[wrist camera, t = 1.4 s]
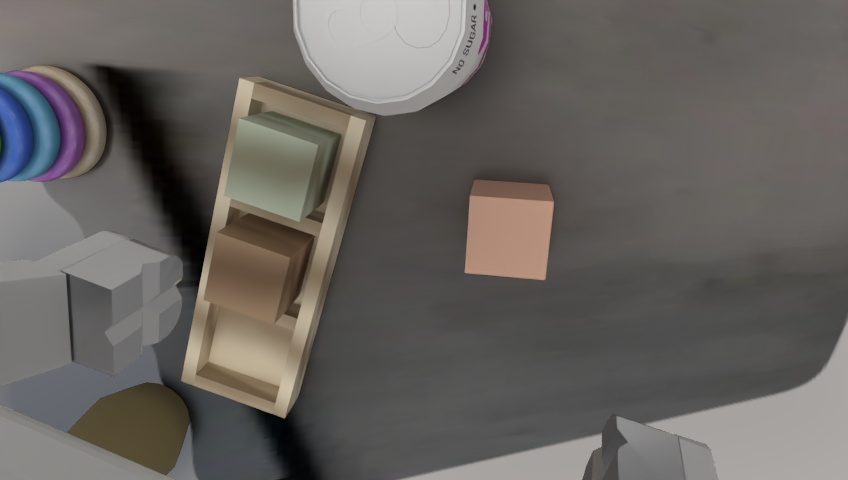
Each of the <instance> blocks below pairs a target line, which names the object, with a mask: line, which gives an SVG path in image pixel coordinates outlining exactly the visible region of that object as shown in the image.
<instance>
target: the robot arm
mask: <svg viewBox="0 0 848 480" xmlns="http://www.w3.org/2000/svg"><path fill="white" fill-rule="evenodd" d="M182 278H183V262H182V261H181V260H180V259H179V257H178V256H176V255H173V254H171V253H168V252H166V251H163V250H160V249H158V248H155V247H153V246H150V245H147V244H145V243H142V242H140V241H137V240H135V239H131V238H129V237H126V236H124V235H121V234H118V233H115V232H112V231H101V232H99V233H96V234H94V235H92V236H90V237H88V238H85V239H83V240H81V241H79V242H77V243H75V244H73V245H70V246H68V247H65V248H63V249H61V250H59V251H57V252H54V253H52V254H50V255H48V256H46V257H43V258H41V259H39V260H37V261H35V262H34V261H31V260H28V259H23V260H13V261H3V262H0V387H2V386H5V385H8V384H11V383H14V382H17V381H20V380H23V379H26V378H29V377H32V376H35V375H38V374H42V373H44V372H48V371H51V370H54V369H57V368H59V367H63V366H66V365H69V364H71V363H72V361H73V362H75V363H78V364H81V365H84V366H86V367H89V368H92V369H94V370H97V371H100V372H102V373H105V374H108V375H111V376H113V377H114V376H115V375H117V374H118V373H119V372H121V371H122V370H123V369H125V368H126V367H127V366H129V365H130V364H131V363H133V362H134V361H135V360H137V359H138V358H139V357H141V354H142V347H143V346H146V345H151V344H155V343H159V342H160V341H161V340H162V339H164V338H165V337H166V336H167V335H169V334H170V332H171V331H172V329H173V328H174V326H175V325H176V323H177V322H178V319H179V316H180V312H181V309H182V297H181V295H180V293H179V291H178V289H177V287H176V284H177V283H178V282H179V281H180V280H181V279H182ZM0 480H174V479H172V478H170V477H167V476H165V475H163V474H161V473H158V472H156V471H154V470H151V469H149V468H147V467H144V466H142V465H140V464H137V463H135V462H133V461H130V460H128V459H126V458H123V457H121V456H119V455H117V454H114V453H112V452H110V451H107V450H105V449H103V448H100V447H98V446H96V445H93V444H91V443H89V442H86V441H84V440H82V439H79V438H77V437H75V436H73V435H70V434H68V433H66V432H63V431H61V430H58V429H56V428H54V427H52V426H49V425H47V424H45V423H42V422H40V421H38V420H35V419H33V418H31V417H28V416H26V415H24V414H22V413H19V412H17V411H14V410H12V409H10V408H8V407H5V406H3V405H1V404H0ZM582 480H718V477H717V474H716V469H715V465H714V461H713V458H712V453H711V450H710V448H709V447H708V446H707V445H706V444H703V443H700V442H697V441H694V440H691V439H688V438H685V437H682V436H679V435H676V434H674V435H673V434H670V433H667V432H665V431H662V430H659V429H656V428H653V427H650V426H647V425H645V424H642V423H639V422H636V421H633V420H630V419H627V418H624V417H622V416H619V415H616V414H612V415H611V416H610V418H609V419H608V420H607V423H606V425H605V427H604V429H603V431H602V447H601V448H598V449H596V450H594V451H593V453H592V455H591V457H590V459H589V461H588V464H587V466H586V469H585V473H584V476H583V479H582Z"/></svg>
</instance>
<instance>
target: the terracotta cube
mask: <svg viewBox="0 0 848 480" xmlns="http://www.w3.org/2000/svg"><path fill="white" fill-rule="evenodd" d="M553 207H554V200H553V197H552V194H551V191H550V187H549V185H548V184H534V183H519V182H505V181H490V180H475V179H474V183H473V186H472V190H471V194H470V203H469V217H468V232H467V247H466V262H465V273H471V274H482V275H493V276H505V277H516V278H527V279H539V280H545V277H546V269H547V260H548V251H549V242H550V233H551V225H552V216H553Z"/></svg>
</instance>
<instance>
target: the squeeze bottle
mask: <svg viewBox="0 0 848 480" xmlns="http://www.w3.org/2000/svg"><path fill="white" fill-rule="evenodd" d="M189 423H190V422H189V413H188V409H187V407H186V406H185V404H184V402H183V400H182V399H181V398H180V397H179V396H178V395H177V394H176V393H175V392H174V391H173V390H171V389H169V388H167V387H165V386H163V385H161V384H155V383H143V384H140V385H137V386H134V387H131V388H128V389H125V390H122V391H119V392H117V393H114V394H111V395H108V396H105V397H102V398H100V399H99V400H98V401H97V402H96V403H95V404H94V405H93V406H92V407H91V408H90V409H89V410H88V411H87V412H86V413H85V414H84V415H83V416H82V417H81V418H80V419H79V420H78V421H77V422H76V424H75V425H73V427H72V428H71V429H70V430H69V431H68V432H67V433H68V434H70V435H73V436H75V437H77V438H79V439H82V440H84V441H86V442H89V443H91V444H93V445H96V446H98V447H100V448H103V449H105V450H107V451H110V452H112V453H114V454H117V455H119V456H121V457H123V458H126V459H128V460H130V461H133V462H135V463H137V464H140V465H142V466H144V467H147V468H149V469H151V470H154V471H156V472H158V473H161V474H163V475H165V476H166V475H167V474H168V473H169V472H170V471H171V470H172V469H173V468H174V466H175V464H176V462H177V459H178V456H179V454H180V450H181V448H182V445H183V441H184V438H185V435H186V432H187V429H188V426H189Z"/></svg>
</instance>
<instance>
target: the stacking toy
mask: <svg viewBox="0 0 848 480" xmlns="http://www.w3.org/2000/svg"><path fill="white" fill-rule="evenodd" d="M106 136H107V130H106V122H105V117H104V114H103V111H102V108H101V106H100V104H99V102H98V100H97V99H96V97H95V95H94V94H93V93H92V91H91V90H90V89H89V88H88V87H87V86H86V85H85V84H84V83H83V82H82V81H81V80H80V79H78V78H77V77H75V76H74V75H72V74H71V73H69V72H67V71H65V70H62V69H60V68H56V67H53V66H45V65H39V66H32V67H28V68H25V69H23V70H20V71H10V72H6V73H0V182H3V181H7V180H8V181H25V180H30V181H37V182H46V181H52V180H55V179H66V178H73V177H77V176H79V175H82V174H84V173H86V172H87V171H89V170H90V169H91V168H92V167H94V165H95V164H96V163H97V162H98V161H99V159H100V157H101V156H102V154H103V151H104V148H105V144H106Z"/></svg>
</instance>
